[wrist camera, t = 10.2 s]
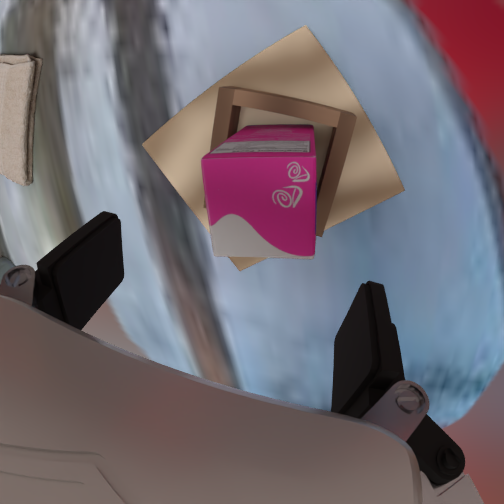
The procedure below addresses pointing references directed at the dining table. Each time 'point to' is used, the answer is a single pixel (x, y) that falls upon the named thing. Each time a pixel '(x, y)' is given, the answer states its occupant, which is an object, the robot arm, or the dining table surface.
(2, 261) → the grey green embossed cup
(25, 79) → the washcloth
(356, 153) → the collar holder
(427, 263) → the dining table surface
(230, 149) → the supplement box
